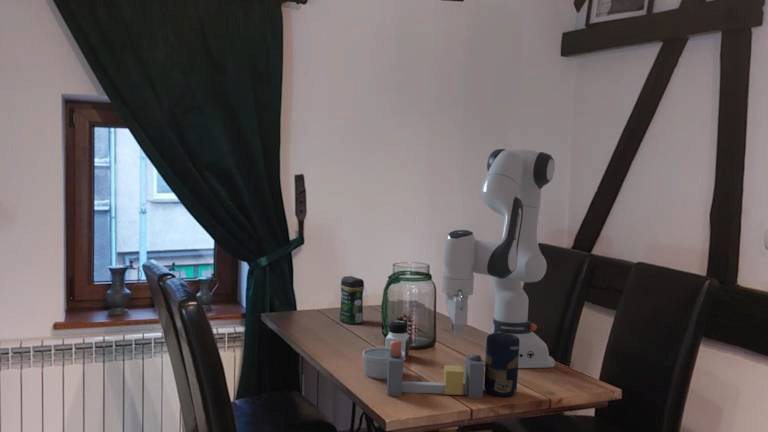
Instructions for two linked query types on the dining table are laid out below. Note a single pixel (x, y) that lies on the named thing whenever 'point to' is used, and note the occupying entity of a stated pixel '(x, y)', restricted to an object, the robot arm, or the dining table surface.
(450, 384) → the block
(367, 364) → the ramekin
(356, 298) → the coffee jar
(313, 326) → the dining table surface
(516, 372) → the canister
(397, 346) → the gauge button
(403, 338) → the medicine bottle
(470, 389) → the rail assembly
